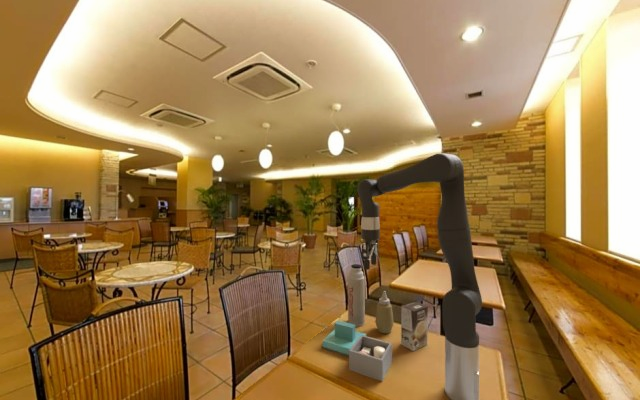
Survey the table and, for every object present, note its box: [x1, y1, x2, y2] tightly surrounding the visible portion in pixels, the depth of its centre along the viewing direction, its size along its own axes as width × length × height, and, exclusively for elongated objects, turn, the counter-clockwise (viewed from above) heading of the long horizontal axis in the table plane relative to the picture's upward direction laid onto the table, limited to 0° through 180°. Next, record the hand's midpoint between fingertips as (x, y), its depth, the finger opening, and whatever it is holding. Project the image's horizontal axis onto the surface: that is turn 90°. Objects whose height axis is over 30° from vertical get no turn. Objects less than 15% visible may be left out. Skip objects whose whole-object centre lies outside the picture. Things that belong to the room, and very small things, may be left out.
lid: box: [322, 320, 368, 355], centre depth 111 cm, size 14×14×8 cm
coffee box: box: [400, 301, 429, 352], centre depth 111 cm, size 9×6×16 cm
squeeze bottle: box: [374, 290, 395, 335], centre depth 122 cm, size 8×8×18 cm
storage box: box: [348, 335, 393, 382], centre depth 97 cm, size 12×12×7 cm
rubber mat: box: [321, 345, 349, 358], centre depth 111 cm, size 14×14×1 cm
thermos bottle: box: [347, 263, 366, 328], centre depth 130 cm, size 8×8×28 cm
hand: (370, 266), depth 111 cm, fingers open, 8 cm apart
